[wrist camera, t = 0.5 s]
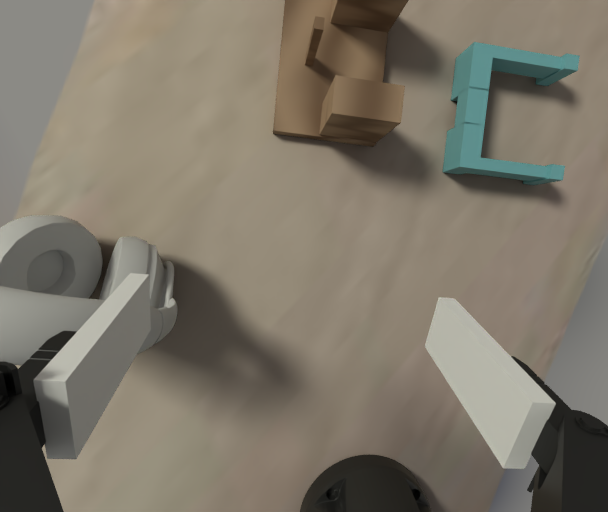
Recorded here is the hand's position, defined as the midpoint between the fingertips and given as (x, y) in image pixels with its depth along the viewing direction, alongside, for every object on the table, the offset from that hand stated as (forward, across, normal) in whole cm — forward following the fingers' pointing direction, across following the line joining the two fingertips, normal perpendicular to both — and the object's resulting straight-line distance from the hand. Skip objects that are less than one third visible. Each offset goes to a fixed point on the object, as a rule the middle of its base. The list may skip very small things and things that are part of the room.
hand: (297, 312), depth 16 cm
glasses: (+28, -23, -10) cm, 38 cm away
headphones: (+21, +17, +9) cm, 29 cm away
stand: (+29, -4, -13) cm, 32 cm away
